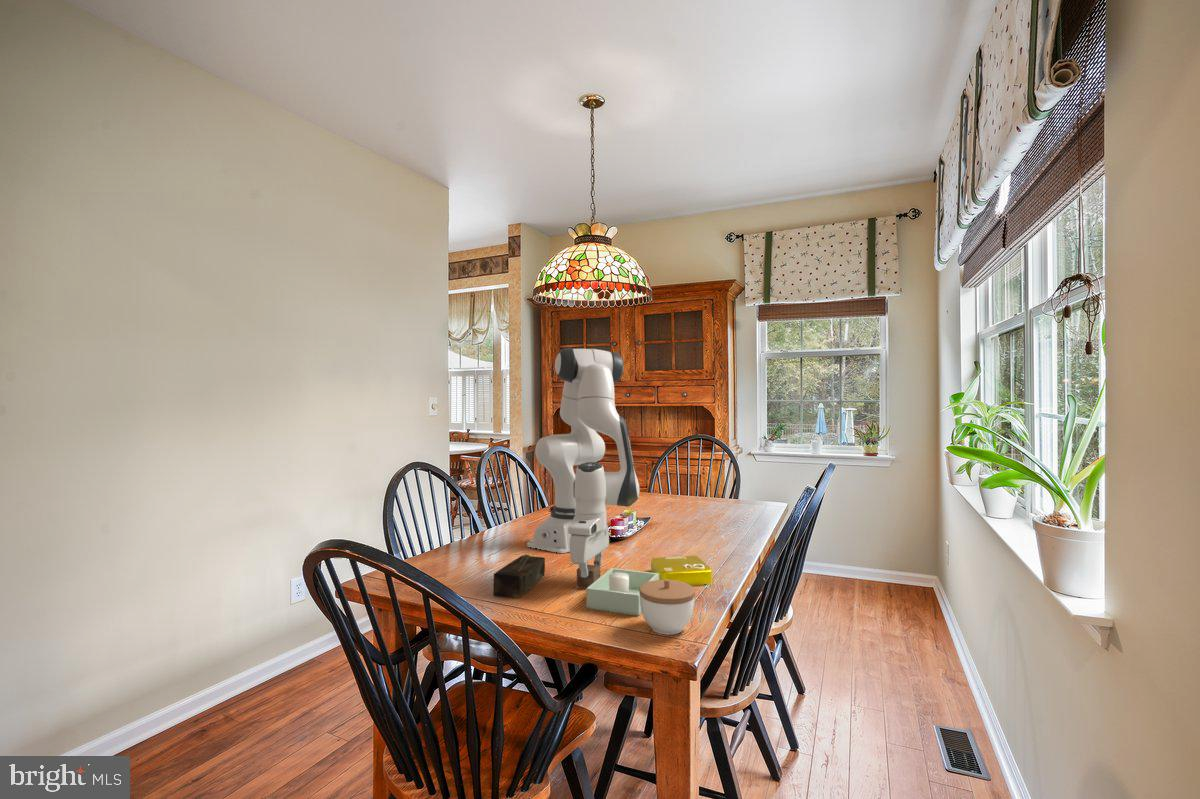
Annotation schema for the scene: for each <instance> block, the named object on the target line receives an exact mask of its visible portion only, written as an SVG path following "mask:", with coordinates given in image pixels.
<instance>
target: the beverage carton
mask: <svg viewBox="0 0 1200 799" xmlns="http://www.w3.org/2000/svg"><path fill="white" fill-rule="evenodd" d="M545 561H546V558H545V557H542V556H533V555H529V554H524V555H521V556H519V557H517V558H516V559H514V560H512V561H511V562H509V563H508V564H506V565H505V566H503V567H501V568H500V569H499V570H497V571H496V572H494V573H493V584H492V586H493V587H492V590H493V592H492V593H493V594H492V595H493V596H496V597H502V596H503V598H509V597H511V598H512V599H516V598H518V599H520V598H521V597H522V596H523V595H524V594H526V593H527V592H528V591H530V590H531V589H532V588H533V587H534V586H535V585H537V584H538V583H539V582H540V581H541V580H542V579H543V578H544V577H545V572H546V570H545V569H546V565H545V564H546V562H545ZM543 576H544V577H543ZM542 577H543V578H542ZM541 578H542V579H541ZM540 579H541V580H540ZM539 580H540V581H539ZM538 581H539V582H538ZM537 582H538V583H537ZM531 587H532V588H531Z"/></svg>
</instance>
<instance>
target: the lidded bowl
mask: <svg viewBox="0 0 1200 799" xmlns="http://www.w3.org/2000/svg"><path fill="white" fill-rule="evenodd" d="M695 590H696V589H695V588H694V587H693V586H691V585H689V584H687V583H684V582H680V581H675V580H667V579H666V580H655V581H650V582H646V583H644V584H642V585H641V586H640V588H639V593H640V605H641V611H642V613H641V615H642V617H643V620H645V623H646V624H647V625H648V626H649V627H651V628H650V629H651V630H652V631H653V632H654V633H655V634H656V633H657V634H660V635H665V636H666V635H667V636H671V635H677V634H679V633H681V632H683V630H684V629H685V628H686V627H687V626H688V625H689V623H690V621H691V619H692V617H693V614H694V610H695V609H694V608H695V596H696V591H695Z"/></svg>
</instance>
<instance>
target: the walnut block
mask: <svg viewBox="0 0 1200 799" xmlns="http://www.w3.org/2000/svg"><path fill="white" fill-rule="evenodd" d="M587 569H588V570H589V576H587V577H586V578H584V577H581V571H580V568H579V567H578V568H577V569H576V587H577V586H578V587H577V588H580V587H585V588H584V589H587V588H588V587H589V586H590V585H591V584H593V583H594V582H595V581H596V580H597V579H599V578H600V577H601V566H595V565H594V564H588V565H587Z"/></svg>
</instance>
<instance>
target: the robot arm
mask: <svg viewBox="0 0 1200 799" xmlns="http://www.w3.org/2000/svg"><path fill="white" fill-rule="evenodd" d="M556 355H557V356H556V357H555V362H554V369H555V373H556V376H557V377H558V379H560V380H562V381H564V384H563V387H562V393H561V394H562V395H561V401H560V408H559V409H560V410H559V416H560V418H561V420H562V421H563V422H564V423H565V424H567V425H568V426H570V428H571V429H570V430H571V431H570V432H569V433H563V434H562V433H560V434H551V435H546V436H543V437H541V438H540V439H539V440H538V441H537V443H536V445H535V449H534V454H535V457H536V460H537V462H538V463H539V464H540V465H541V466H543V468H545V469H546V471H548V472H549V474H550V476H551V478H552V481H553V485H554V499H555V500H554V502H555V503H554V505H553V506H551V507H549V508H548V512H549V513H550V516H548V517H547V518H546V519H545V520H544V521H542V522H541V523H539V524H538V525H537V526H536V528H535V530H534V534H533V538H531V539H530V540H529V541H528V542H527V543H526V547H527V548H530V547H531V549H535V548H537V549H536V550H540V549H541V550H540V551H545V550H546V551H547V552H552V553H556V552H557V554H565V553H569V555H570V556H569V558H570V561H571V563H572V564H574V565H578V568H580V571H581V577H584V578H586V577H587V576H589V570H588V569H587V565H589V564H588V562H589V561H591V560H592V559H593V558H594V560H593V565H595V566H600V567H602V559H603V556H604V551H605V550H606V549H608V547H609V546H610V537H609V536H610V534H609V525H608V522H607V507H606V506H619V507H627V508H629V507H631V506H633V504H635V503H636V502H637V501H638V500H639V496H640V492H641V491H640V483H639V480H638V477H637V474H636V468H635V463H634V457H633V453H632V446H631V440H630V435H629V429H628V426H627V422H626V421H625V418H624V417H622V416H621V415H620V414H619V413H618V410H617V409H616V408H617V407H616V403H615V401H616V400H615V395H616V394H615V384H616V383H618V382H619V381H620V380H621V379H622V377H623V373H624V367H625V366H624V365H625V364H624V359H623V357H622V355H621V354H620V353H618V352H615V351H611V350H609V351H608V350H603V349H597V348H572V347H567V348H566V347H565V348H561V349H560V350H559V351H558V352H557V354H556ZM599 433H601V434H604V435H605V436H608V437H610V438H612V440H614V441H615V444H616V449H617V453H618V459H619V460H618V461H619V465H620V466H619V467H620V469H619V471H605V469H604V468H605V467H604V465H603V464H601V463H599V461H601V460H603V458H604V456H605V454H606V443H605V441H604V439H603V438H602V436H600V435H599ZM574 466H576V469H575V471H574Z"/></svg>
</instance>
